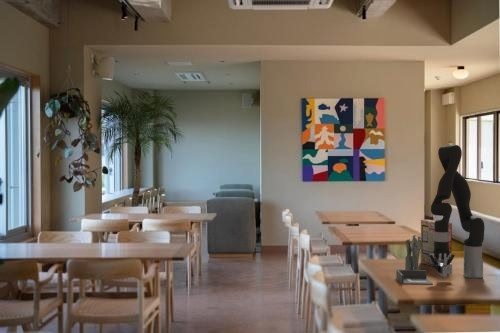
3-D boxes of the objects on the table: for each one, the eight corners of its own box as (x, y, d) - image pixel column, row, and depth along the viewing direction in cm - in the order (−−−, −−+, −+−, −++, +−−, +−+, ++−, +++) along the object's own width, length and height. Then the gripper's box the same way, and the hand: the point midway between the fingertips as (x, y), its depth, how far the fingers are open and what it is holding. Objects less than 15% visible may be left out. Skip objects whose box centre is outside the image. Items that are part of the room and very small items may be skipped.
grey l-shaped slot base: (426, 278, 294) (426, 270, 294) (432, 284, 281) (432, 275, 281) (396, 278, 295) (396, 269, 295) (401, 284, 282) (401, 275, 282)
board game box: (451, 269, 318) (452, 223, 317) (443, 269, 315) (444, 223, 314) (427, 262, 337) (428, 219, 336) (419, 263, 334) (420, 219, 333)
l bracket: (437, 272, 291) (437, 263, 290) (450, 272, 291) (450, 263, 290) (442, 277, 282) (442, 267, 282) (456, 276, 282) (456, 267, 281)
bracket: (413, 276, 299) (414, 240, 299) (400, 274, 303) (401, 239, 302) (423, 266, 324) (423, 233, 323) (410, 265, 327) (411, 232, 326)
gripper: (452, 238, 289) (452, 270, 290) (426, 239, 290) (426, 271, 291) (457, 241, 282) (457, 274, 283) (430, 241, 282) (430, 274, 283)
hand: (441, 272), depth 287 cm, fingers closed on l bracket
